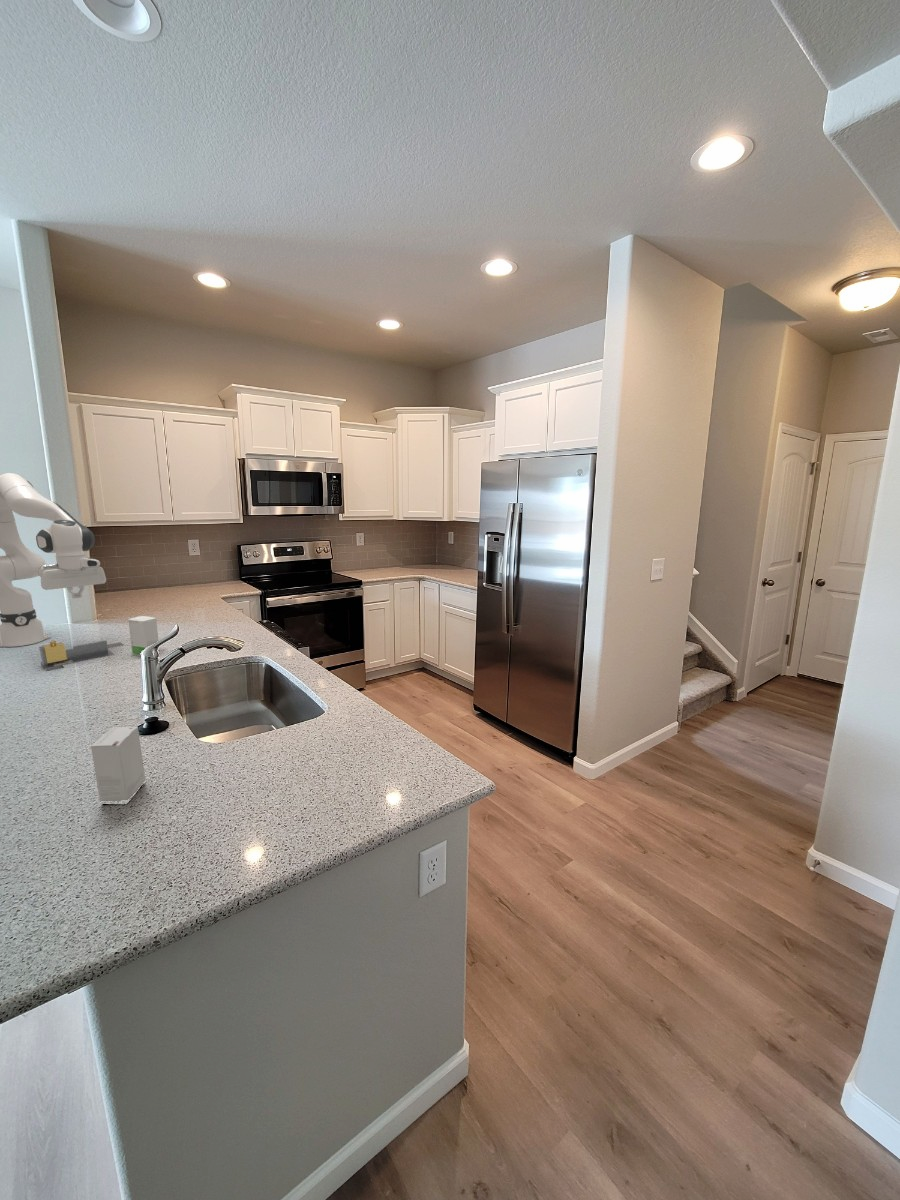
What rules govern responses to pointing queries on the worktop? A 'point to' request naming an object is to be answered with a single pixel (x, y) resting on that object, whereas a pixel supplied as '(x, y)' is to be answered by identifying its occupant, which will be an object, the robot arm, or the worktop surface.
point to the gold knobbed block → (55, 652)
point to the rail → (77, 654)
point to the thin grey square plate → (115, 645)
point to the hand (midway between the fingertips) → (77, 597)
